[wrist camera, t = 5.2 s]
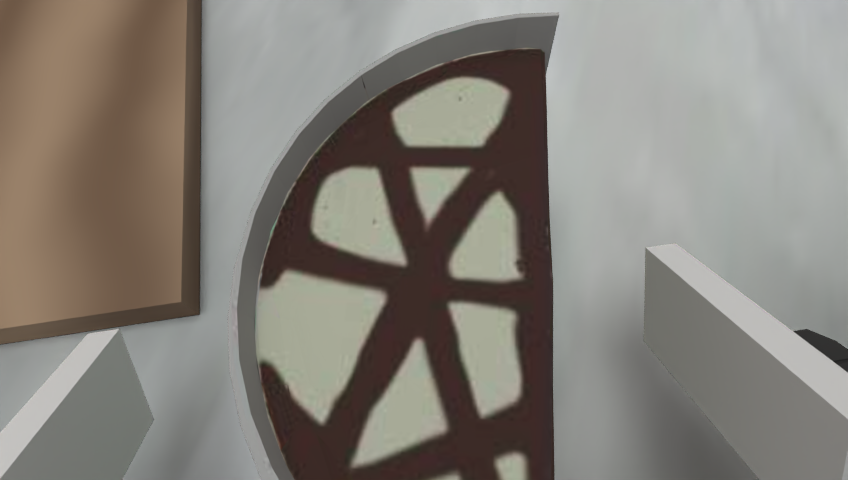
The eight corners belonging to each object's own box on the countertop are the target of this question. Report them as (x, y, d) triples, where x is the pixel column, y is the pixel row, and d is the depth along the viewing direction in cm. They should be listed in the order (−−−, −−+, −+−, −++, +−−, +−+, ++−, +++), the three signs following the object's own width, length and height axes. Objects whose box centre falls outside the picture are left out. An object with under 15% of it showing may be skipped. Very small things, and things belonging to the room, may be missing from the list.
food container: (341, 199, 21) (265, -16, 12) (507, 206, 21) (558, -8, 12) (291, 577, 17) (101, 700, 7) (504, 595, 16) (585, 745, 7)
